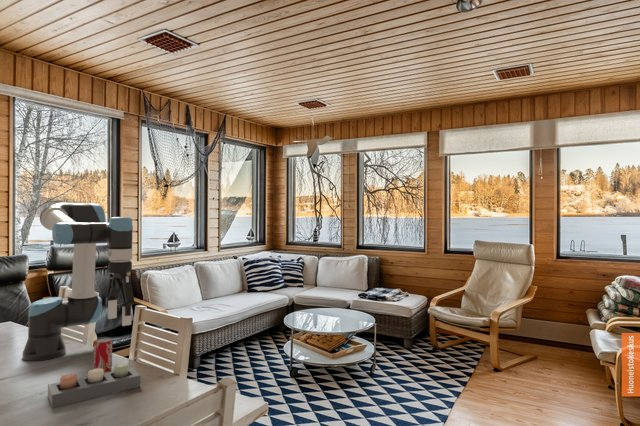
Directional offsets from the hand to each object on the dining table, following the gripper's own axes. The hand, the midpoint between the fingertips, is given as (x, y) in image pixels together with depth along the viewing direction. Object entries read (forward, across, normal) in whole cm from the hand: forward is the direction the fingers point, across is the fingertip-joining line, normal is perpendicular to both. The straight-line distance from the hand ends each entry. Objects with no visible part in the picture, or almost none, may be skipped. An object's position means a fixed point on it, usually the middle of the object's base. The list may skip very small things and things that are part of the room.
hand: (119, 321), depth 144 cm
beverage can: (+22, -18, +1) cm, 29 cm away
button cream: (+19, -1, -7) cm, 20 cm away
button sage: (+19, 0, +1) cm, 19 cm away
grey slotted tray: (+23, -1, -7) cm, 24 cm away
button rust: (+19, -2, -15) cm, 24 cm away
